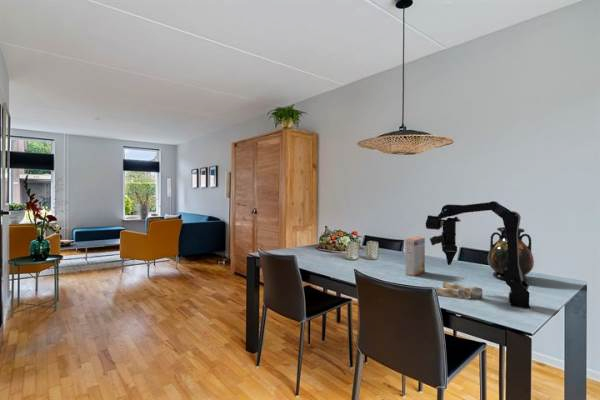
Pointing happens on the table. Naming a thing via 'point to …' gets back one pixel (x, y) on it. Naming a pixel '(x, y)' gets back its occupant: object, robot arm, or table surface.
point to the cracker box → (415, 256)
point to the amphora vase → (500, 254)
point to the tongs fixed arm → (453, 292)
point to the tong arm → (473, 291)
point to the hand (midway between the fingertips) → (448, 262)
